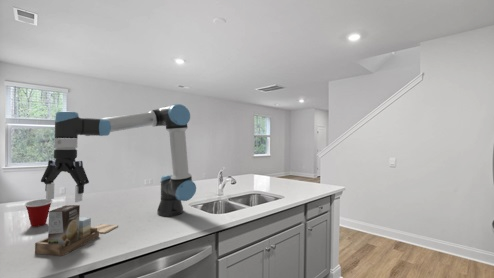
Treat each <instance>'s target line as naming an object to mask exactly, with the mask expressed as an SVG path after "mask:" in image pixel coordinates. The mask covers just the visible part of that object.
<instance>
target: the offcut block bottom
mask: <svg viewBox="0 0 494 278" xmlns="http://www.w3.org/2000/svg"><path fill="white" fill-rule="evenodd" d="M90 234H91V231H90V232H88V233H86V234H84V235H80V234H79V240H80V239H82V238H84V237H86V236H88V235H90Z"/></svg>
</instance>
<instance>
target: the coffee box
mask: <svg viewBox="0 0 494 278" xmlns="http://www.w3.org/2000/svg"><path fill="white" fill-rule="evenodd" d="M80 207H81V206H80V204H79V205H77V204H75V205H74V204H73V205H72V204H71V205H63V206H60V207H57V208H55V209H52V210H49V213H48V228H47V229H48V231H47V234H48V235H47V236H48V237H47V238H48V243H55V244H62V248H63V247H65V246H67V245H69V244H71V243H74V242H76V241H78V240H79V217H80Z"/></svg>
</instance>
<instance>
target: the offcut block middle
mask: <svg viewBox="0 0 494 278" xmlns="http://www.w3.org/2000/svg"><path fill="white" fill-rule="evenodd" d="M91 227H92V224H91V225H89V226H86V227H84V228H79V234H80V235H84V234H86V233H88V232H90V231H91Z"/></svg>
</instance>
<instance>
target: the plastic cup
mask: <svg viewBox="0 0 494 278" xmlns="http://www.w3.org/2000/svg"><path fill="white" fill-rule="evenodd" d="M52 204H53V199H51V200H46V198H45V199H44V198H41V199H40V198H39V199H36V200H35V199H34V200H31V201H28V202H26V203H24V206H25V208H26V210H27V215H28V216H27V217H28V219H29V225H30V226H31V227H34V228H36V227H41V226H45V225H46V224H47V221H48V218H49V211H50V208H51V205H52Z"/></svg>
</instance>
